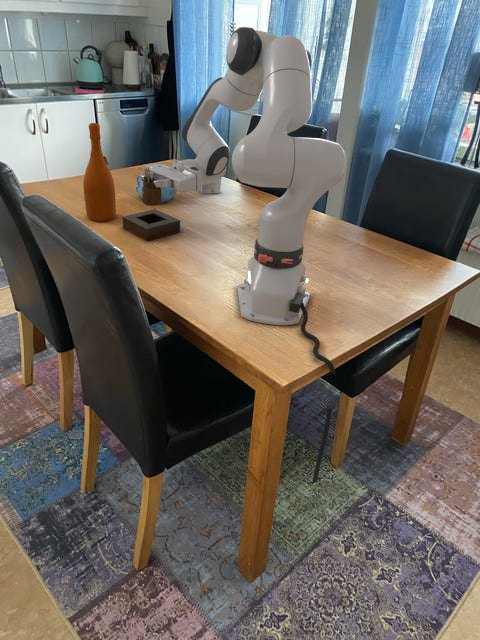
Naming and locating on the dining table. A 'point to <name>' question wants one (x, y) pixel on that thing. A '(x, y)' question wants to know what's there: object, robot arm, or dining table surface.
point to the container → (211, 187)
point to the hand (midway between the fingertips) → (148, 181)
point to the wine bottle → (98, 182)
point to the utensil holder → (150, 190)
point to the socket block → (151, 224)
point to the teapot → (165, 191)
